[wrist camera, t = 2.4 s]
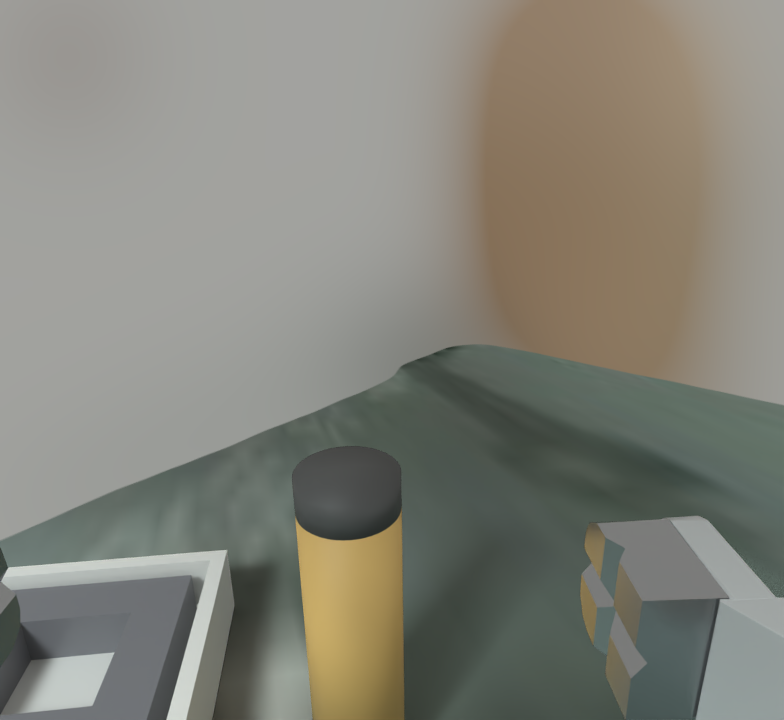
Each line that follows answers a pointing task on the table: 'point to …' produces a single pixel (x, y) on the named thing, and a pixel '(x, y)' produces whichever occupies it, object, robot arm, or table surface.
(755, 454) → the table surface
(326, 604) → the cylinder
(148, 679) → the walled box
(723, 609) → the robot arm
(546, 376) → the table surface
